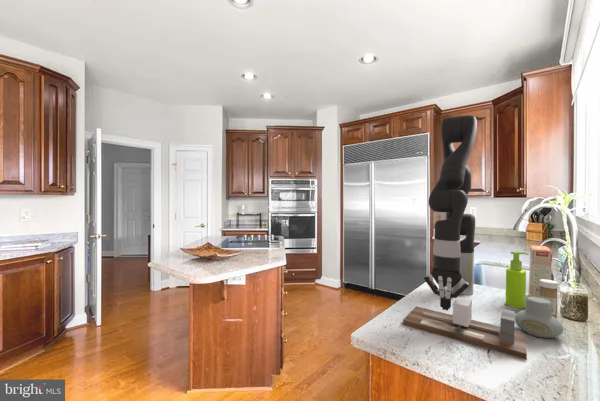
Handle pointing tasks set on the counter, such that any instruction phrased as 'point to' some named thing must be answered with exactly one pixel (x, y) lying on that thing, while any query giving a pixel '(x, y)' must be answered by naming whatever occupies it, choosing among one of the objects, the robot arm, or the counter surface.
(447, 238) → the robot arm
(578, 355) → the counter surface
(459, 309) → the block
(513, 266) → the soap dispenser
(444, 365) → the counter surface
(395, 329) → the counter surface
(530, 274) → the cracker box
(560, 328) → the air freshener
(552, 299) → the sprinkles bottle
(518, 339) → the base
